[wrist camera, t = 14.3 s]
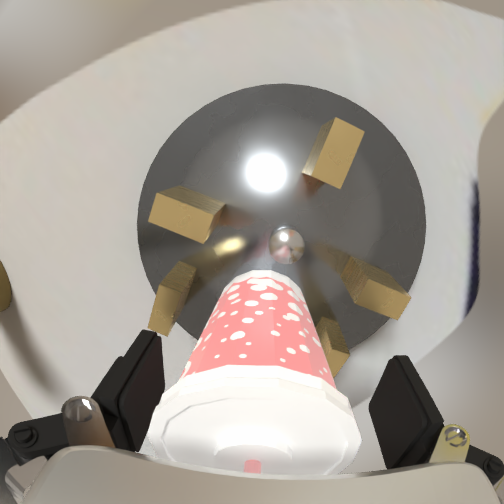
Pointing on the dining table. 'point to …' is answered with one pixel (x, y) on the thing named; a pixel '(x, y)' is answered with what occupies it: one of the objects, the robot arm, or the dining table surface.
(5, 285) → the cork
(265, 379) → the beverage cup
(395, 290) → the gold studded metal disc
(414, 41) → the dining table surface
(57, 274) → the dining table surface
